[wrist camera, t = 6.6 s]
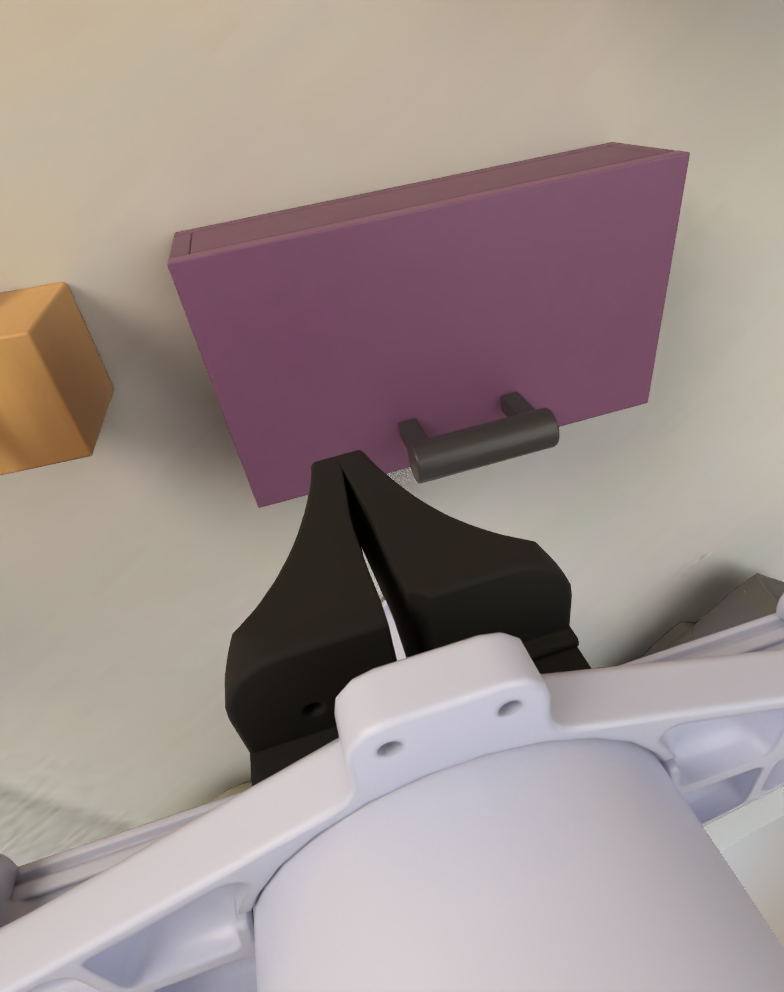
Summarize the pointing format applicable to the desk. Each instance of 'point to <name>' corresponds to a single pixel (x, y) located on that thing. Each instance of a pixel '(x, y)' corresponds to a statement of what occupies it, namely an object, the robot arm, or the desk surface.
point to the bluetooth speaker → (727, 612)
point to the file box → (404, 197)
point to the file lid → (438, 324)
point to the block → (48, 380)
